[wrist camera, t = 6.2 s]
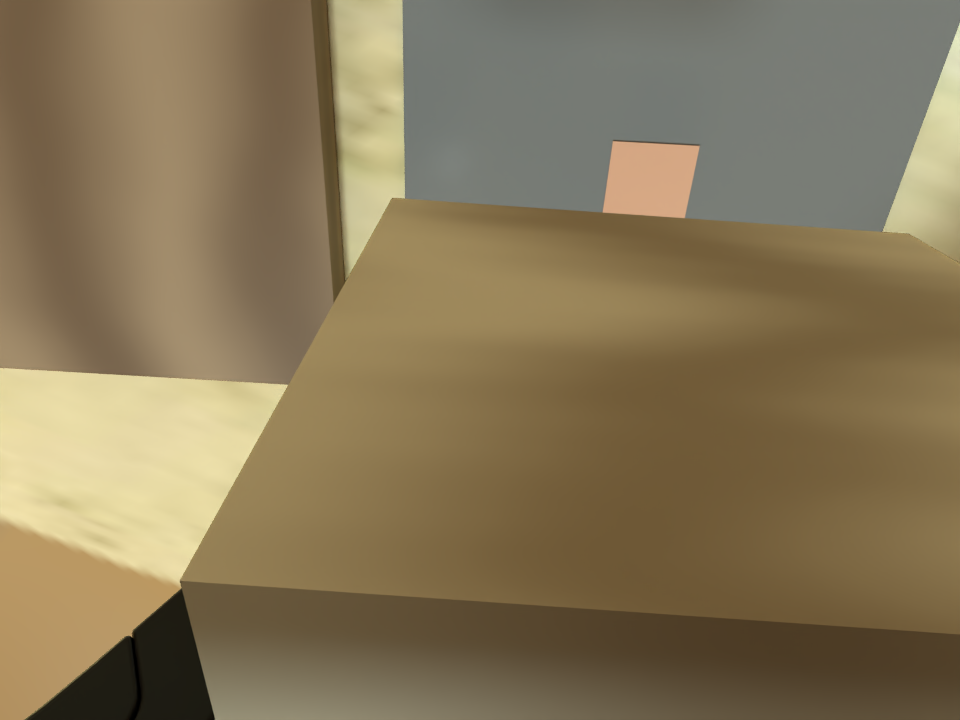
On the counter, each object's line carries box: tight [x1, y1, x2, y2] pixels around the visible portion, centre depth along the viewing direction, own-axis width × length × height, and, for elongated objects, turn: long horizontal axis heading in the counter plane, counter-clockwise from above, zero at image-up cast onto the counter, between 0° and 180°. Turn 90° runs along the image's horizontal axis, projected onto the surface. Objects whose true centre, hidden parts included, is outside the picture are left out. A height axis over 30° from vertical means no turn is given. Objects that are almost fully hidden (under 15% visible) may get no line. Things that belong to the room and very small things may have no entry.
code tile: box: [403, 0, 960, 232], centre depth 19 cm, size 14×16×1 cm
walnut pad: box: [0, 0, 345, 385], centre depth 18 cm, size 14×14×2 cm
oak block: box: [180, 198, 960, 720], centre depth 7 cm, size 6×6×6 cm
